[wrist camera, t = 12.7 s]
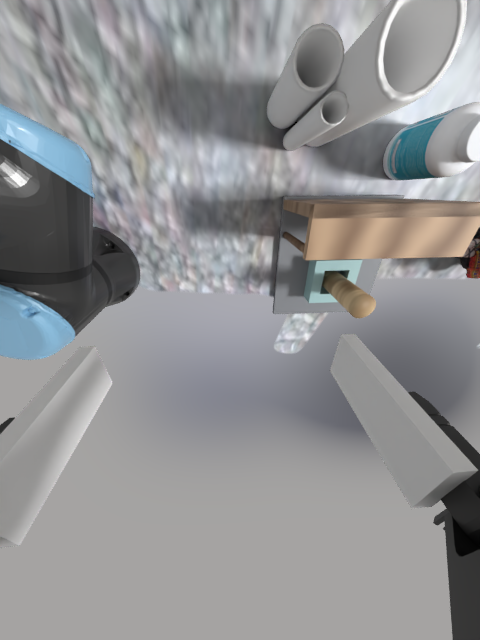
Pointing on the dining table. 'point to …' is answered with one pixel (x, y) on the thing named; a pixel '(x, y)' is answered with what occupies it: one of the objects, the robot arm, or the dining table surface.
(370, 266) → the socket board
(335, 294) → the oak peg
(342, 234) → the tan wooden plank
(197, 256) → the dining table surface
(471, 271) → the figurine
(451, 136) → the pill bottle
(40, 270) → the robot arm
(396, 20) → the vase
